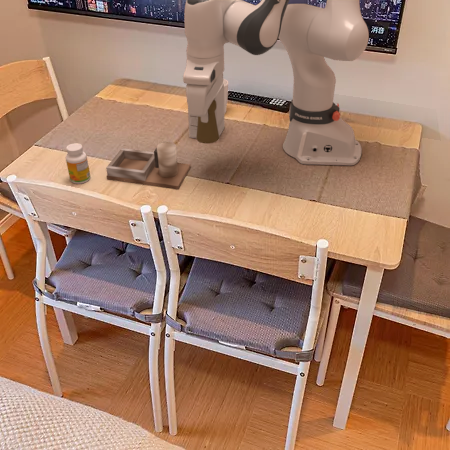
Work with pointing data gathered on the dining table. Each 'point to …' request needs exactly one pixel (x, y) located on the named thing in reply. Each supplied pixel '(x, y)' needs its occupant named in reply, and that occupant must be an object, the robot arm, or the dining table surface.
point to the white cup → (225, 93)
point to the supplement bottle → (77, 164)
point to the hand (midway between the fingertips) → (208, 116)
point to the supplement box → (218, 113)
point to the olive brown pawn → (208, 127)
